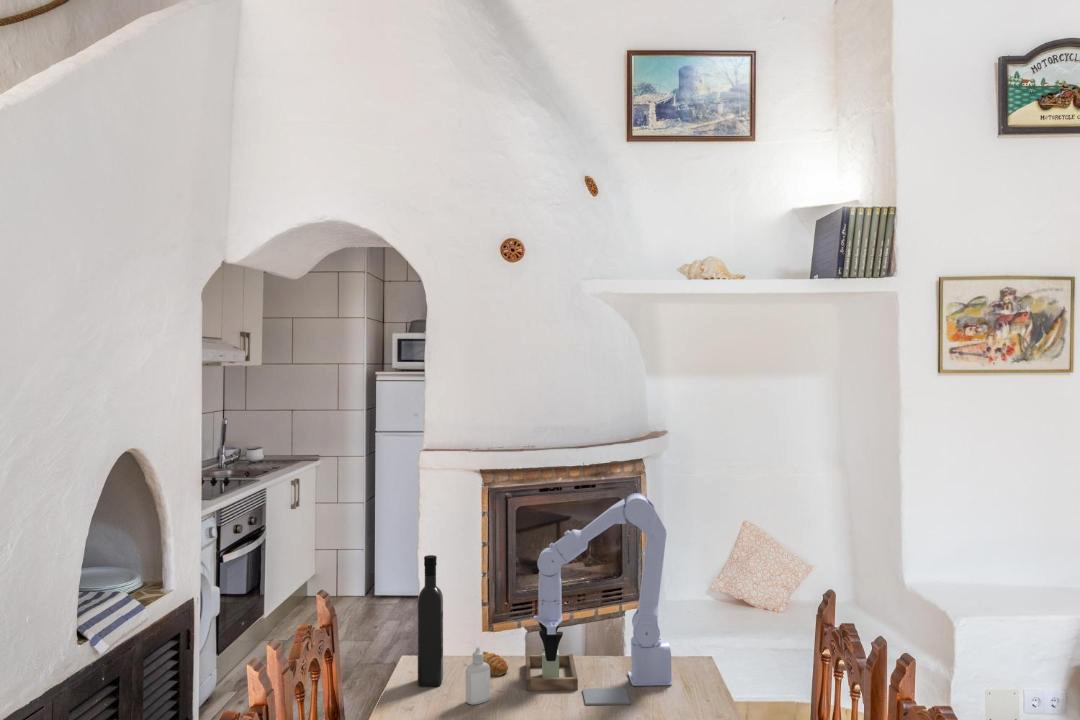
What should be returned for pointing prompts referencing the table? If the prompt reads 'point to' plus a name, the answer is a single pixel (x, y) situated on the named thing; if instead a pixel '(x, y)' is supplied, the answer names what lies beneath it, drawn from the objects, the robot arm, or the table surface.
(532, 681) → the box
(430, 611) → the wine bottle
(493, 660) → the pastry
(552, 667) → the wood block
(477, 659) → the eye dropper bottle
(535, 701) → the table surface
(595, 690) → the mat
